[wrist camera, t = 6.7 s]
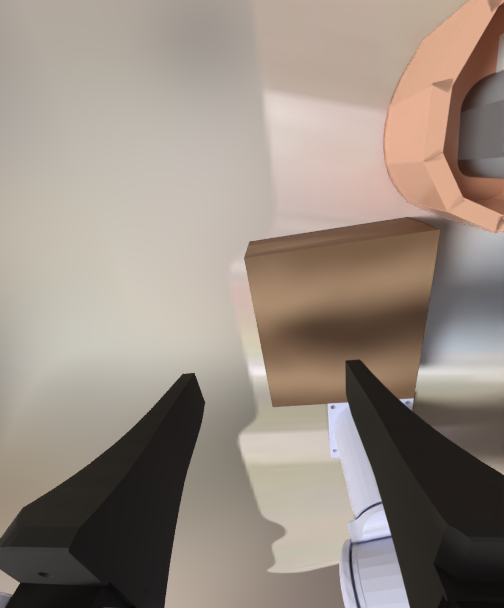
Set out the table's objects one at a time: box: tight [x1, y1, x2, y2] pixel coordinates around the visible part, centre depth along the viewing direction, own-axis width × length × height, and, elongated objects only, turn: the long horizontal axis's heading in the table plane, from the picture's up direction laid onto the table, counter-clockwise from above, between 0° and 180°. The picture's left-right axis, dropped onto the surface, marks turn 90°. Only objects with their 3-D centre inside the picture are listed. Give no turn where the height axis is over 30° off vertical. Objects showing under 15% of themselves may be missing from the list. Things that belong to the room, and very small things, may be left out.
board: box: [244, 217, 441, 407], centre depth 19 cm, size 13×11×4 cm
